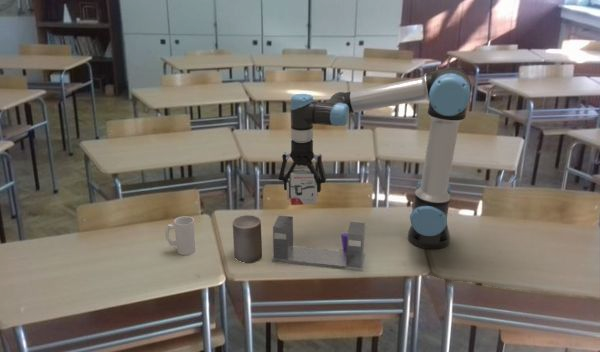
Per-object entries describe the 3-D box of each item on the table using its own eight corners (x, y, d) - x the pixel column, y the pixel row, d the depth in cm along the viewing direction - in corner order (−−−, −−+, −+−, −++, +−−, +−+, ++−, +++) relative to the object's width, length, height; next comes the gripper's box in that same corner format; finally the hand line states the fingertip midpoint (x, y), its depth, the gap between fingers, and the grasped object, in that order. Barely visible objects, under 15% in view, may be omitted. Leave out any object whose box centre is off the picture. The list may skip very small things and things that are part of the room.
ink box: (291, 205, 203) (290, 174, 199) (290, 199, 208) (289, 169, 203) (315, 204, 204) (315, 173, 199) (313, 198, 208) (313, 168, 204)
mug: (195, 245, 207) (193, 215, 202) (196, 254, 201) (194, 223, 196) (167, 248, 205) (164, 217, 201) (167, 257, 199) (164, 226, 194)
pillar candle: (260, 248, 205) (259, 210, 199) (263, 262, 196) (262, 222, 190) (233, 251, 203) (231, 213, 198) (235, 265, 194) (232, 225, 189)
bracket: (363, 253, 203) (363, 236, 200) (343, 253, 203) (344, 236, 200) (359, 237, 214) (360, 221, 211) (341, 237, 214) (341, 221, 211)
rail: (364, 256, 200) (366, 222, 195) (362, 271, 191) (364, 235, 186) (278, 248, 205) (277, 214, 200) (271, 261, 196) (271, 227, 191)
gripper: (335, 137, 199) (334, 197, 207) (273, 134, 202) (274, 193, 211) (332, 144, 192) (331, 205, 200) (268, 141, 196) (270, 201, 204)
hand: (302, 199), depth 205 cm, fingers closed on ink box, 9 cm apart
